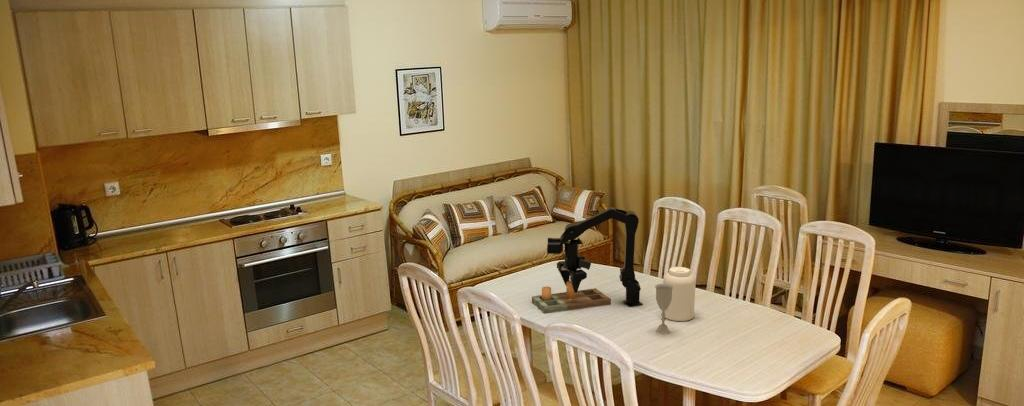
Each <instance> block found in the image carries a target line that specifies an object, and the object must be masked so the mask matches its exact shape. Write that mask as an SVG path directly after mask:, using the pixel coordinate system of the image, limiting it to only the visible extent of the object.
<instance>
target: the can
mask: <svg viewBox="0 0 1024 406" xmlns="http://www.w3.org/2000/svg"><path fill="white" fill-rule="evenodd" d="M662 284H670V285H673V289H672V300H671V302H670V305H669V307H668V308H667V310H665V319H667V320H669V321H675V322H685V321H686V322H687V321H690V320H693V319H694V317H695V305H696V304H695V300H696V299H695V297H696V278H695V276H694V275H693V274H692V271H691V269H690V268H688V267H684V266H672V267H670V268H669V269H668V272H667V273H665V275H664V277H663V283H662Z"/></svg>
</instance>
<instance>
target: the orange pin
mask: <svg viewBox="0 0 1024 406" xmlns="http://www.w3.org/2000/svg"><path fill="white" fill-rule="evenodd" d="M565 287H566V291H565V292H566V298H567V299H575V298H576V293H575V292H574V290H573V286H572V283H571V280H569V281H567V282H566V285H565Z"/></svg>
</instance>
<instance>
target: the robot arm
mask: <svg viewBox="0 0 1024 406" xmlns="http://www.w3.org/2000/svg"><path fill="white" fill-rule="evenodd" d="M611 219H613V220H615V221H617V222H619V223H623V225H624V229H625V230H624V232H625V238H624V239H625V241H624V264H623V267H619V271H620V272H619V281H620V282H621V285H622V287H624V288H625V300H622V303H623V304H624V305H625V306H627V307H636V306H637V307H638V306H643V302H641V301H640V300H641V299H640V295H641V293H640V292H641V289H642V288H641V285H640V282H639V281H638V279H636V274H635V268H634V264H635V246H636V245H635V243H636V242H635V240H636V233H637V230H638V226H639V222H640V221H639V220H640V219H639V216H638V214H637V213H636V212H635V211H633V210H628V211H627V210H624V209H619V208H616V207H613V206H610V207H608V208H607V209H604V210H602V211H601V212H598V213H596V214H593V215H592V216H590V217H588V218H586V219H582V220H579V221H574V222H570V223H568V224H566V225H565V227H564V232H562V234H561V235H560V237H547V245H546V254H547V255H561V253H563V252H564V255H562V258H563V259H564V260H561V261H557V262H556V269H557V271H558V273H559V275H560V276H561V278H562V280H563V283H564V285H565V286H566V282H567V281H571V283H572V286H573V290H574V292H575V293H576V292H577V291H579V287H580V285H581V282H582V281H583V280H585V279H587V277H588V273H587V272H586V271H585V270H583V269H586V270H587V271H589V270H590V269H591V266H592V262H591V261H590V260H588V259H586V257H585V256H583V255H579V245H583V243H584V242H583V240H582V239H581V238H580V236H581V235H583V234H584V233H585V232H587V231H588V230H590V229H591V228H594V227H596V226H598V225H601V224H602V223H604V222H606V221H609V220H611Z"/></svg>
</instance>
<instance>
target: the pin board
mask: <svg viewBox="0 0 1024 406" xmlns="http://www.w3.org/2000/svg"><path fill="white" fill-rule="evenodd" d="M611 302H612V298H610V297H609V296H607V295H606V294H605V293H603V292H601V291H600V290H599V289H597V288H589V289H588V288H587V289H580V290H579V289H578V291H577V292H576V298H575V299H567V298H566V291H565V292H557V293H551V300H547V301H542V294H541V295H534V296H531V303H532V304H534V305H535V306H536V307H537V309H539V310H540V311H541V312H543V313H544V314H552V313H560V312H565V311H566V312H567V311H573V310H579V309H580V310H581V309H587V308H594V307H595V308H596V307H603V306H610V305H611V304H612V303H611Z"/></svg>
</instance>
